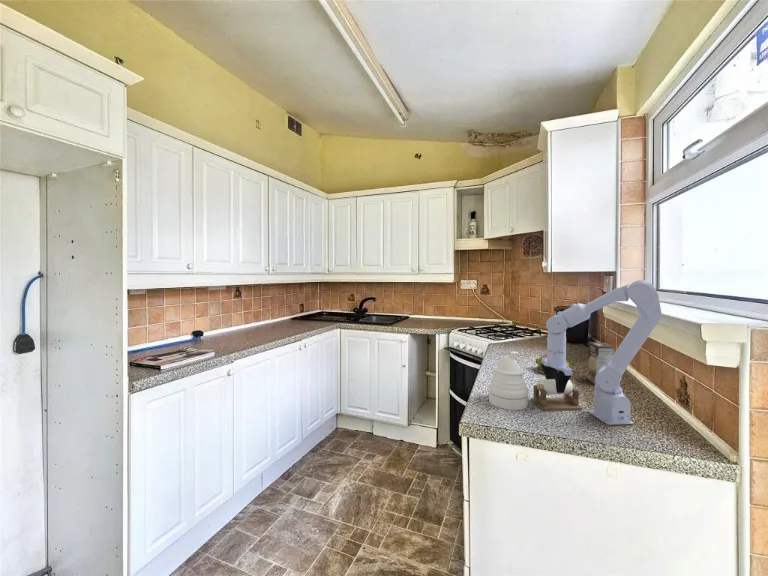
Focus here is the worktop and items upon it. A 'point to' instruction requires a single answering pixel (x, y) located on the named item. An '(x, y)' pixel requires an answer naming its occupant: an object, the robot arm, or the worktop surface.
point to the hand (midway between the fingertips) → (555, 389)
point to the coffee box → (598, 357)
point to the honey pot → (508, 385)
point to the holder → (556, 401)
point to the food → (539, 361)
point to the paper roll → (553, 386)
